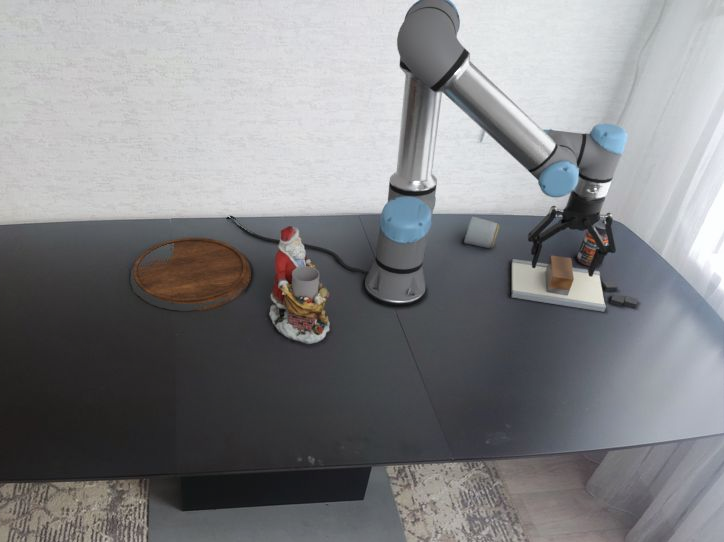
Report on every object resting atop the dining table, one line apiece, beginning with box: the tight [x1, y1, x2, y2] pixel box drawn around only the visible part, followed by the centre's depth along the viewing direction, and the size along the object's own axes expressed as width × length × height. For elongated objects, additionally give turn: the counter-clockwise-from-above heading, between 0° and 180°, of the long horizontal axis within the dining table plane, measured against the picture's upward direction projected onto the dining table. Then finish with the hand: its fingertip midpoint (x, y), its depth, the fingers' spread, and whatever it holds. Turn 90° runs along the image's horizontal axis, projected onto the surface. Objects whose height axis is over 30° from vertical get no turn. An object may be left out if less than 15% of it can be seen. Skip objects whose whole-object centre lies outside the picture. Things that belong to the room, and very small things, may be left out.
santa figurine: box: [268, 225, 331, 345], centre depth 151 cm, size 17×14×25 cm
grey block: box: [609, 293, 626, 308], centre depth 165 cm, size 3×3×1 cm
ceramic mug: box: [463, 215, 500, 249], centre depth 185 cm, size 11×8×8 cm
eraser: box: [546, 254, 574, 296], centre depth 168 cm, size 5×10×5 cm, turn 164°
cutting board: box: [133, 237, 252, 312], centre depth 174 cm, size 32×32×2 cm
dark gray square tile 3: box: [622, 295, 639, 309], centre depth 164 cm, size 3×3×1 cm
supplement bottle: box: [576, 220, 609, 267], centre depth 176 cm, size 6×6×11 cm
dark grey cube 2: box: [601, 280, 618, 292], centre depth 170 cm, size 3×3×1 cm
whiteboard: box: [510, 258, 607, 313], centre depth 170 cm, size 22×16×1 cm
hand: (561, 269), depth 167 cm, fingers open, 13 cm apart
